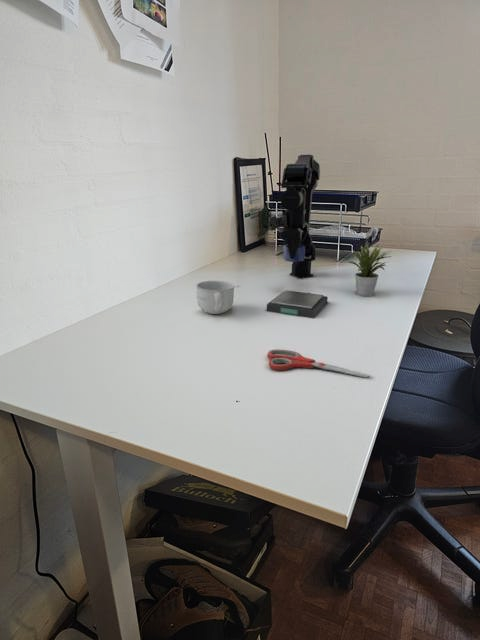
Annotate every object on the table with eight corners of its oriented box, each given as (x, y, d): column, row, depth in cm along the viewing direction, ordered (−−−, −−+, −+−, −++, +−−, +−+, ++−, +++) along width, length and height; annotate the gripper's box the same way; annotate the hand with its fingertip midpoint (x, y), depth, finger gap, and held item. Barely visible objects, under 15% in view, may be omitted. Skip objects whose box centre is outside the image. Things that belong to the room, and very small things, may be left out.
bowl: (296, 256, 135) (296, 243, 133) (308, 260, 129) (309, 246, 127) (279, 259, 132) (279, 245, 130) (291, 263, 126) (291, 248, 125)
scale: (283, 297, 127) (284, 291, 127) (327, 302, 121) (327, 296, 121) (266, 311, 115) (266, 304, 115) (313, 318, 109) (313, 311, 109)
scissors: (369, 378, 78) (369, 372, 78) (263, 369, 83) (263, 363, 82) (365, 361, 85) (366, 355, 85) (268, 353, 90) (268, 347, 89)
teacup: (200, 304, 122) (198, 279, 119) (235, 304, 121) (235, 278, 119) (193, 321, 109) (192, 293, 106) (233, 321, 108) (232, 293, 106)
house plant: (381, 304, 119) (388, 250, 113) (336, 297, 126) (340, 245, 120) (393, 292, 130) (399, 241, 124) (351, 286, 137) (355, 238, 131)
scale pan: (286, 291, 125) (286, 290, 125) (323, 296, 120) (323, 294, 120) (271, 303, 115) (271, 301, 115) (311, 309, 110) (311, 307, 110)
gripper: (276, 204, 135) (275, 250, 141) (263, 209, 118) (263, 261, 124) (309, 204, 132) (307, 251, 138) (300, 210, 115) (298, 263, 121)
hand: (294, 256), depth 130 cm, fingers closed on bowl, 7 cm apart
